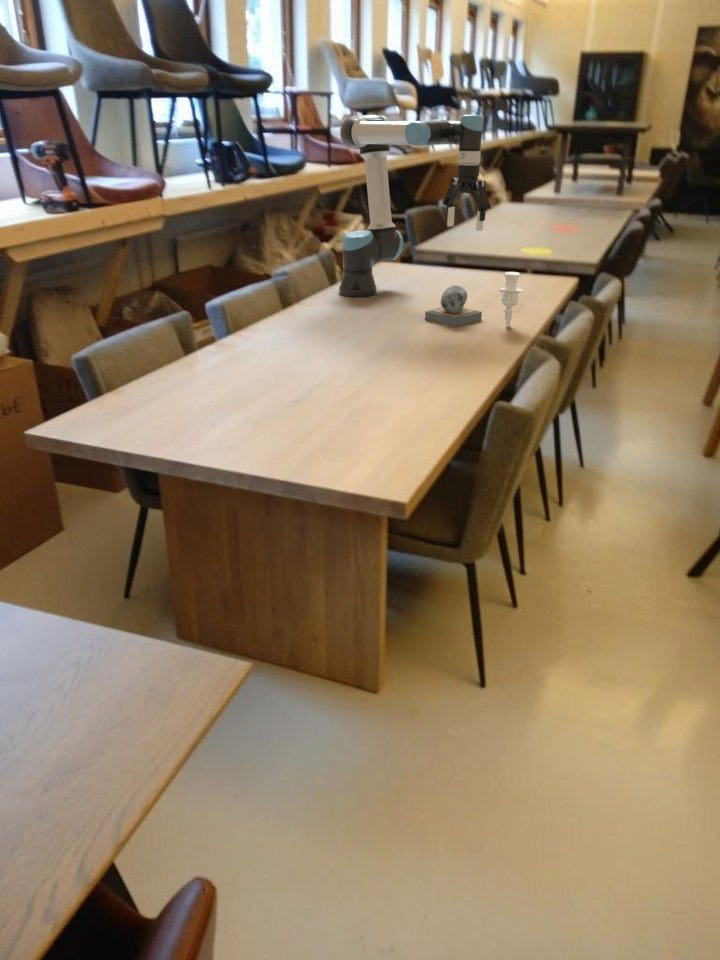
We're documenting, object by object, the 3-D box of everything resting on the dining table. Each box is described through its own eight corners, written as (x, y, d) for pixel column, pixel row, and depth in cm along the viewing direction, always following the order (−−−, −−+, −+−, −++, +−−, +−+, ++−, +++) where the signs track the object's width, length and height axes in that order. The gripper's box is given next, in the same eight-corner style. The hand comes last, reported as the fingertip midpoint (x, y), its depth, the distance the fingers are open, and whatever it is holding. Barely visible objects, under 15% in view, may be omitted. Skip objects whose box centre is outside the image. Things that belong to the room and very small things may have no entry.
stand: (424, 319, 263) (425, 310, 261) (450, 313, 272) (451, 303, 270) (455, 327, 254) (456, 317, 252) (481, 320, 263) (481, 310, 261)
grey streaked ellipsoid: (468, 307, 252) (458, 279, 251) (443, 318, 255) (432, 291, 255) (475, 307, 265) (465, 281, 264) (450, 318, 268) (440, 292, 267)
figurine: (498, 322, 260) (503, 269, 252) (520, 324, 257) (526, 271, 249) (493, 330, 251) (498, 275, 243) (516, 332, 249) (521, 277, 241)
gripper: (434, 162, 264) (431, 225, 274) (490, 167, 248) (485, 233, 257) (449, 161, 269) (445, 223, 278) (504, 165, 252) (498, 231, 262)
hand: (464, 228), depth 268 cm, fingers open, 13 cm apart
